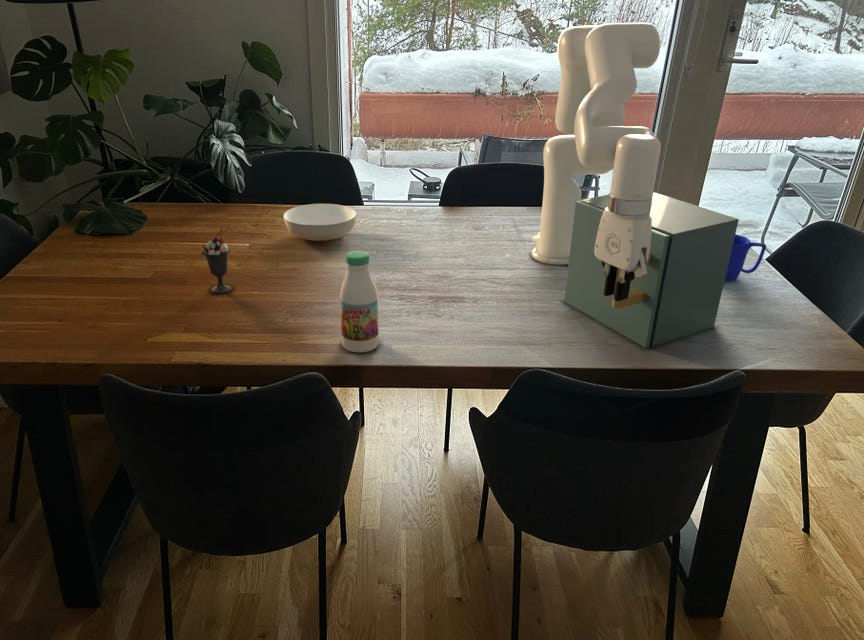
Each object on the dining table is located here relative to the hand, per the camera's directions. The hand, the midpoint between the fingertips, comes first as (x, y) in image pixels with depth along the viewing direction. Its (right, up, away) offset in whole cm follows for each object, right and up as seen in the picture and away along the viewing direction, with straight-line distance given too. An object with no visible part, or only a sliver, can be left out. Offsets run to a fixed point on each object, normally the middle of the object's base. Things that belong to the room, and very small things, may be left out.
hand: (615, 296), depth 141 cm
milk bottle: (-50, -9, +9) cm, 52 cm away
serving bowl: (-64, +24, +69) cm, 97 cm away
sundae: (-85, +5, +36) cm, 93 cm away
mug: (+41, +8, +37) cm, 56 cm away
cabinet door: (-1, -5, +15) cm, 15 cm away
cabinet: (+11, -2, +20) cm, 23 cm away
